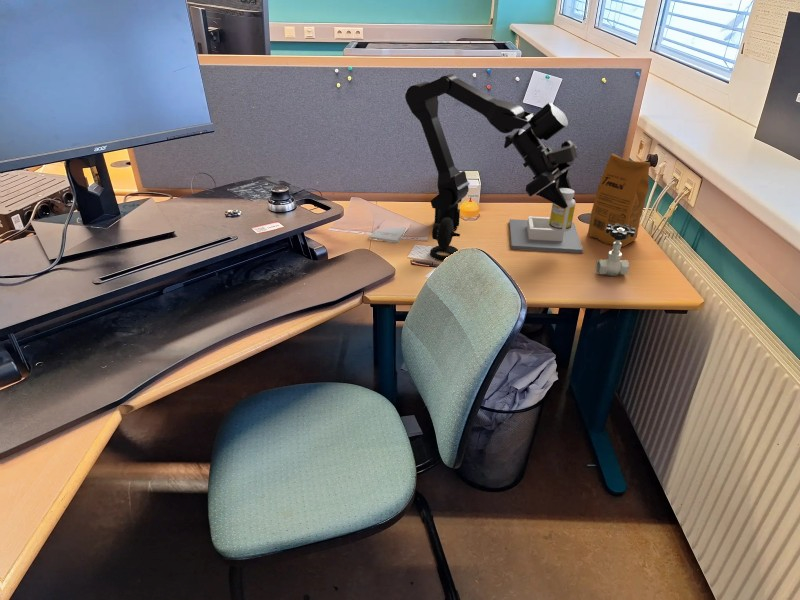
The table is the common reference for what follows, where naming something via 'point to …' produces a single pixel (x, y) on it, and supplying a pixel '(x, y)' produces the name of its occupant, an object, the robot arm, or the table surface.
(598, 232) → the coffee package
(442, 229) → the webcam
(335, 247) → the table surface
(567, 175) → the robot arm
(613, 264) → the valve
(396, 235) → the external hard drive
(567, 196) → the supplement bottle
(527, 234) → the socket board
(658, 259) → the table surface
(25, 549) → the table surface
